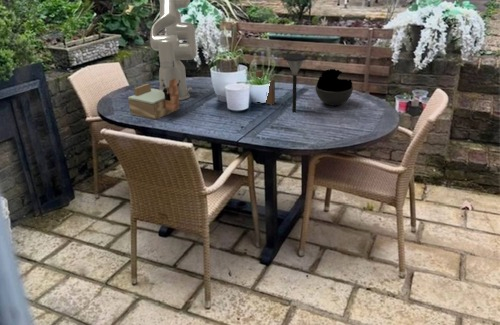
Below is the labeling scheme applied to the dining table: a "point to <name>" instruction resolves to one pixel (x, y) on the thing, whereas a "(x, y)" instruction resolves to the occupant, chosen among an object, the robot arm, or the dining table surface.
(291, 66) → the solar garden light
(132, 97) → the lid
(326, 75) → the bowl of black rocks
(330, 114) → the dining table surface
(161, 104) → the toolbox
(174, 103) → the key post
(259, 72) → the wooden block
